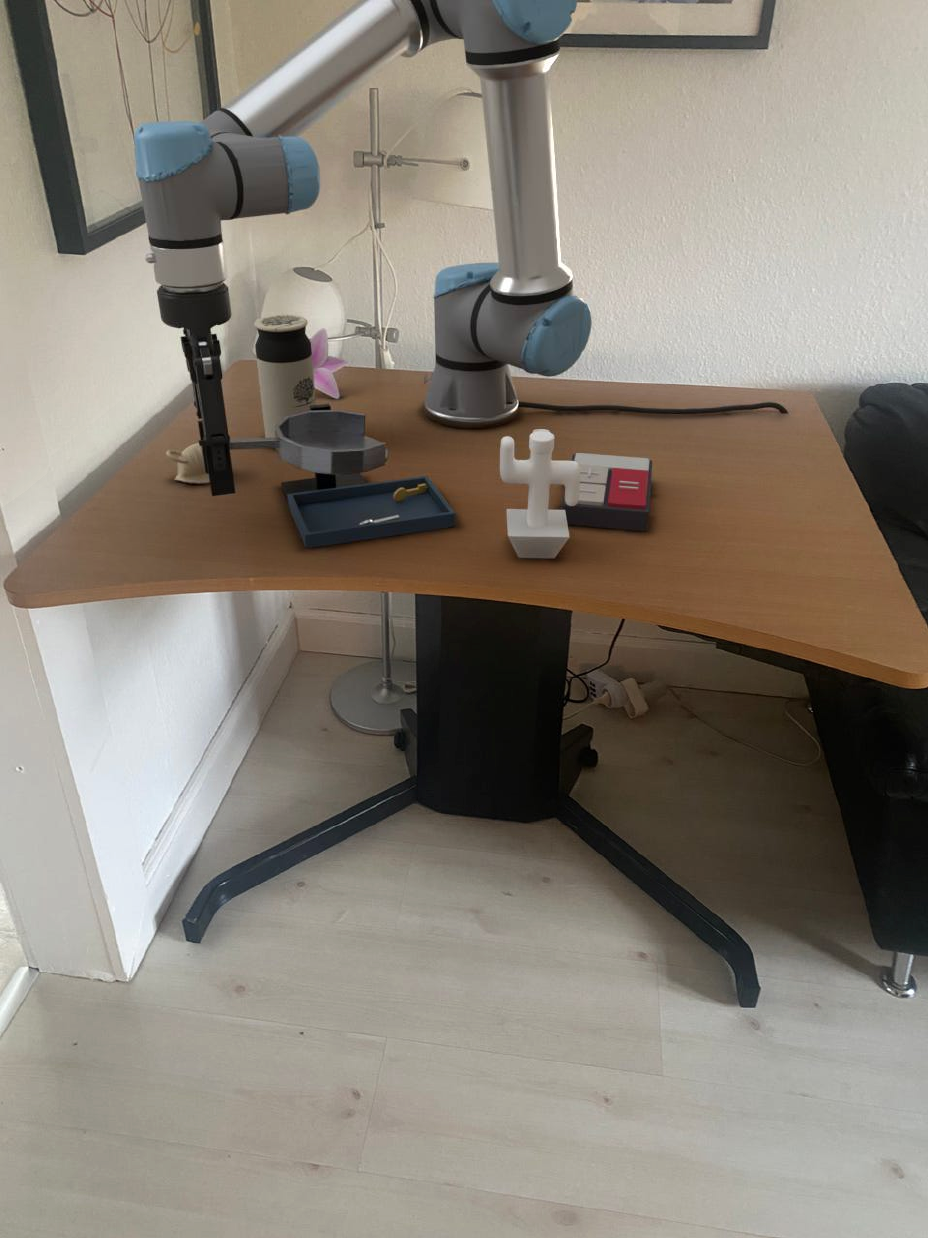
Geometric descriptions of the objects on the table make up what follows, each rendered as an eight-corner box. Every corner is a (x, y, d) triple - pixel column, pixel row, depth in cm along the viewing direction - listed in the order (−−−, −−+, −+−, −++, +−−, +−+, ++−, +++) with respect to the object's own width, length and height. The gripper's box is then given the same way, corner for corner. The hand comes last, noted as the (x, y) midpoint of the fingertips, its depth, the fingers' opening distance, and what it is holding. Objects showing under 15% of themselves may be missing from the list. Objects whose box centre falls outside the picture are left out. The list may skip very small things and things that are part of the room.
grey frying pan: (371, 430, 126) (372, 407, 124) (401, 473, 114) (402, 448, 113) (199, 436, 119) (198, 411, 117) (212, 482, 107) (211, 456, 106)
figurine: (576, 564, 114) (586, 446, 106) (497, 563, 114) (501, 444, 106) (571, 536, 120) (580, 422, 112) (496, 535, 120) (500, 421, 112)
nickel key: (355, 529, 119) (357, 532, 119) (359, 521, 118) (361, 524, 118) (395, 520, 122) (396, 522, 122) (399, 512, 120) (400, 514, 120)
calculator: (561, 498, 120) (573, 447, 132) (559, 528, 123) (571, 475, 135) (649, 506, 119) (653, 454, 131) (646, 536, 121) (649, 482, 133)
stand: (359, 478, 134) (355, 392, 127) (368, 492, 130) (364, 404, 123) (281, 488, 131) (272, 400, 124) (288, 503, 127) (278, 413, 120)
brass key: (396, 490, 125) (395, 488, 125) (393, 502, 126) (391, 501, 126) (428, 483, 129) (427, 481, 129) (425, 495, 130) (423, 493, 130)
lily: (263, 403, 162) (267, 362, 154) (283, 357, 169) (289, 315, 161) (330, 426, 164) (339, 386, 156) (349, 379, 170) (357, 339, 162)
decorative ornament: (232, 476, 134) (227, 440, 132) (176, 491, 130) (170, 455, 127) (218, 467, 137) (213, 431, 134) (163, 482, 132) (157, 445, 130)
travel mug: (256, 438, 146) (242, 319, 137) (301, 426, 150) (291, 310, 141) (282, 454, 141) (269, 332, 131) (328, 441, 145) (319, 322, 136)
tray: (427, 488, 131) (427, 475, 130) (455, 526, 122) (455, 513, 121) (288, 506, 126) (287, 493, 125) (306, 548, 116) (304, 534, 115)
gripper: (150, 267, 109) (181, 456, 122) (162, 309, 94) (195, 520, 106) (217, 262, 111) (240, 449, 124) (239, 303, 96) (263, 511, 108)
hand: (220, 481), depth 115 cm, fingers closed on grey frying pan, 6 cm apart
